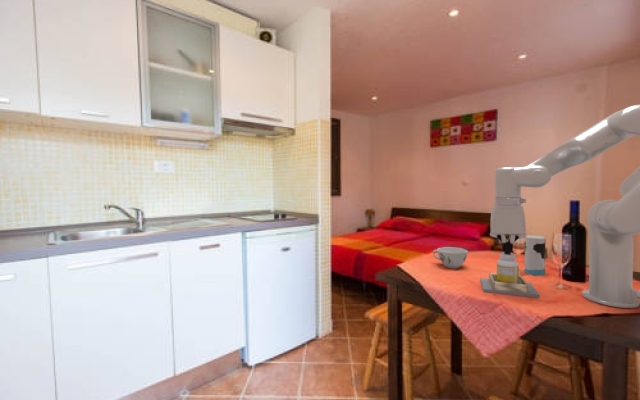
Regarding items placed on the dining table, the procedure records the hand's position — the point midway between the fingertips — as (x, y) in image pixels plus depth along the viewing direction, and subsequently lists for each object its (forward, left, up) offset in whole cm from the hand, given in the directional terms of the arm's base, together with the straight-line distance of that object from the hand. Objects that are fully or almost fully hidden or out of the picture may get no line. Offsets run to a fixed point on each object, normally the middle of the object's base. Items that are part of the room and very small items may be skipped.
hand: (507, 253), depth 101 cm
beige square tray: (0, 0, -13) cm, 13 cm away
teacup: (+19, -23, -13) cm, 33 cm away
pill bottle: (0, 0, -12) cm, 12 cm away
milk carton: (-13, -23, -13) cm, 29 cm away
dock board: (0, 0, -13) cm, 13 cm away
